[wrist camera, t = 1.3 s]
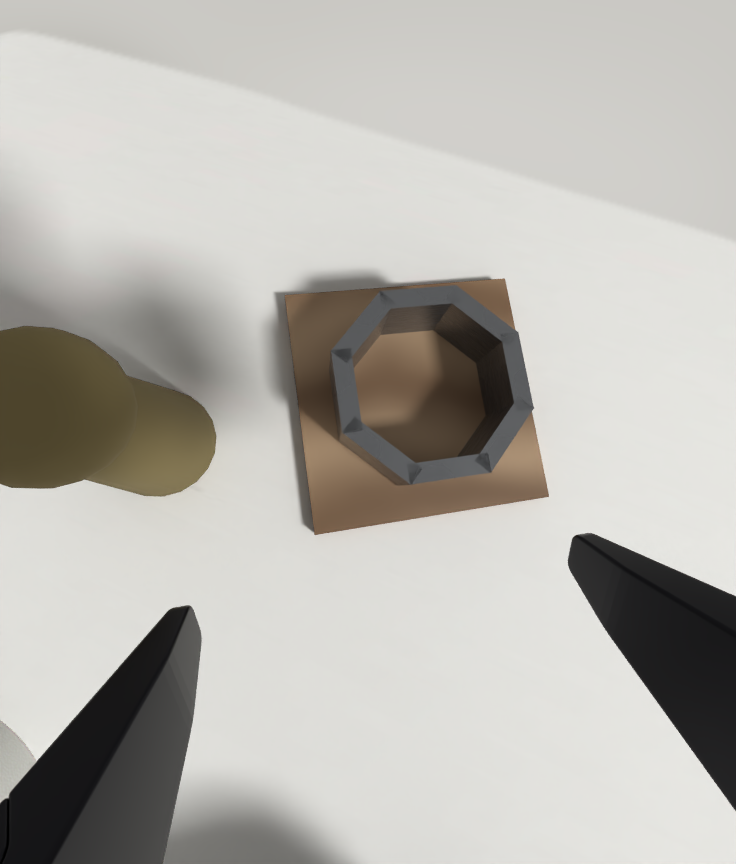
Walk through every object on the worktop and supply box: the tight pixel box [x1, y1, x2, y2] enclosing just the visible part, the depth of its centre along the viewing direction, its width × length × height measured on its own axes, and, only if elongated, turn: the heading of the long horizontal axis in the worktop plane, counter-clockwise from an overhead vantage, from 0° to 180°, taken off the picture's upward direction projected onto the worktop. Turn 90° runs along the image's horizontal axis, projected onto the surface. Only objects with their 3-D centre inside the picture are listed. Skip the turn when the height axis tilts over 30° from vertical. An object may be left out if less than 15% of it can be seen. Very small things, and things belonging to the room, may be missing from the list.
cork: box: [0, 326, 216, 496], centre depth 16 cm, size 6×6×11 cm
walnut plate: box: [285, 279, 549, 535], centre depth 23 cm, size 14×14×1 cm
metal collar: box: [329, 285, 534, 486], centre depth 21 cm, size 10×10×4 cm
